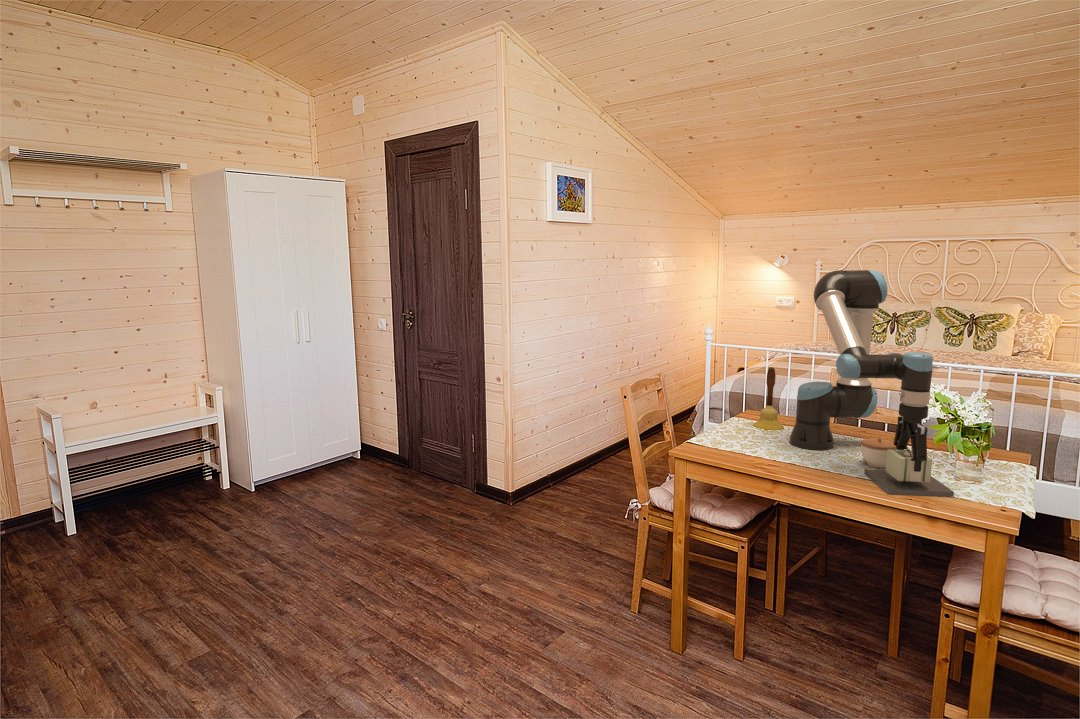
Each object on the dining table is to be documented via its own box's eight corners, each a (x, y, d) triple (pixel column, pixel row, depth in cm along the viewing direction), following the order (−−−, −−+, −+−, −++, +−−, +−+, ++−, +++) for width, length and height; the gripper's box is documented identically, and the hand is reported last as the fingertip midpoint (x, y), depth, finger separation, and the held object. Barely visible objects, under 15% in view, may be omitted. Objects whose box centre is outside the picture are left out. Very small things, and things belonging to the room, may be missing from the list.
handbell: (748, 423, 262) (750, 365, 258) (776, 422, 263) (779, 365, 259) (760, 431, 250) (763, 370, 246) (789, 430, 250) (793, 370, 246)
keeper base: (864, 473, 199) (866, 440, 197) (923, 475, 197) (926, 442, 195) (887, 494, 181) (891, 458, 180) (953, 496, 179) (957, 460, 177)
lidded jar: (884, 459, 213) (886, 433, 212) (902, 470, 203) (905, 442, 201) (853, 459, 213) (855, 433, 212) (870, 470, 203) (872, 442, 201)
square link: (885, 470, 194) (887, 449, 193) (915, 471, 193) (918, 450, 191) (898, 480, 185) (900, 458, 184) (930, 482, 184) (932, 459, 183)
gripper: (885, 395, 196) (879, 463, 200) (917, 412, 175) (910, 487, 179) (910, 396, 195) (904, 464, 199) (946, 412, 174) (938, 488, 178)
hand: (907, 475), depth 189 cm, fingers closed on square link, 9 cm apart
